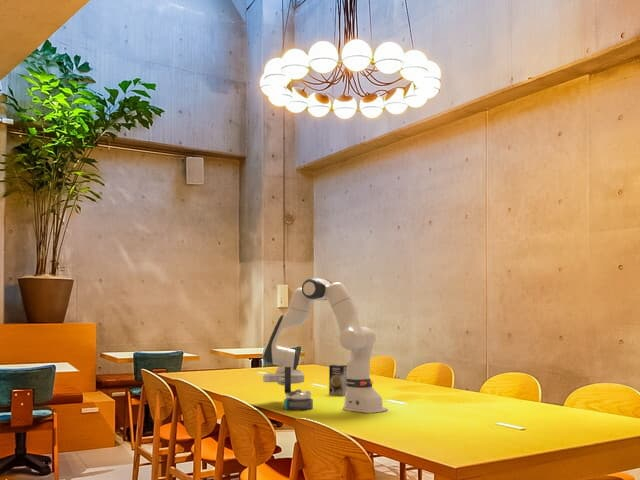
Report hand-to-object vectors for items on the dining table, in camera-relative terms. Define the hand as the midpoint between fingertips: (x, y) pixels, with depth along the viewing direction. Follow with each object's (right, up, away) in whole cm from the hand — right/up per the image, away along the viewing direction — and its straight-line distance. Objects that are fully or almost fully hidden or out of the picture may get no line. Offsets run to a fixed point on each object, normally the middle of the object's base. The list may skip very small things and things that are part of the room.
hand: (283, 380), depth 320 cm
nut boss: (+7, -14, +2) cm, 16 cm away
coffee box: (+28, -19, +49) cm, 59 cm away
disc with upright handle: (+6, -10, +2) cm, 12 cm away
